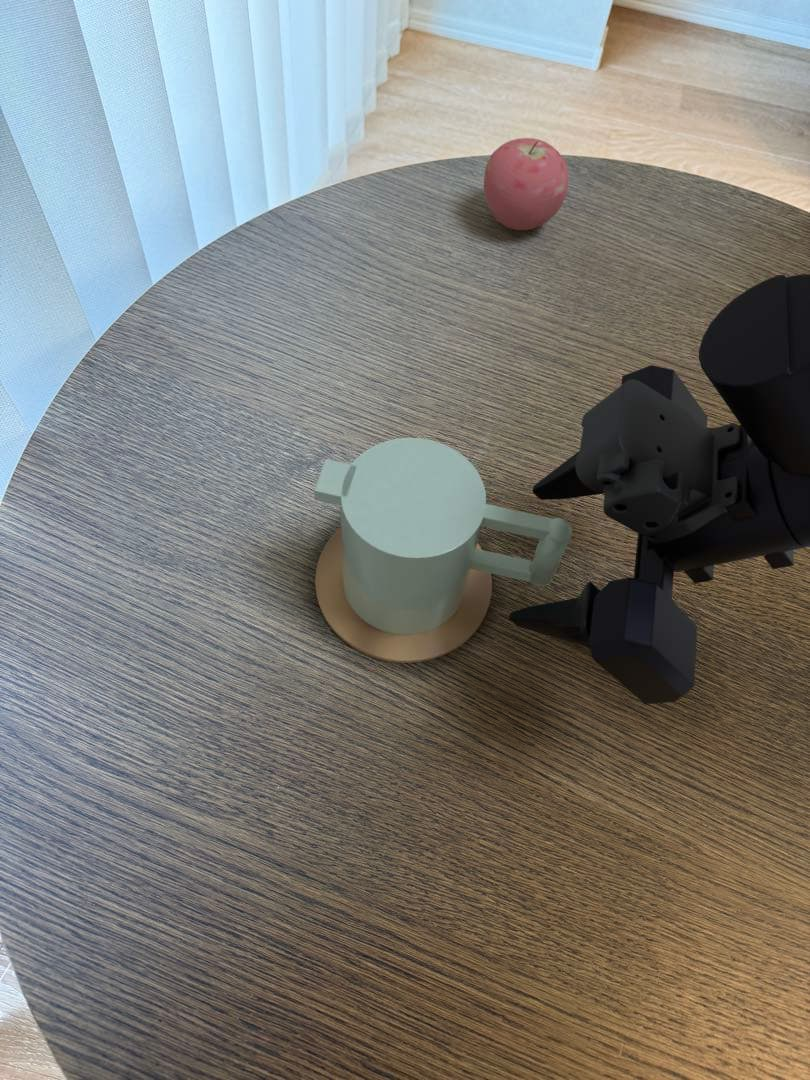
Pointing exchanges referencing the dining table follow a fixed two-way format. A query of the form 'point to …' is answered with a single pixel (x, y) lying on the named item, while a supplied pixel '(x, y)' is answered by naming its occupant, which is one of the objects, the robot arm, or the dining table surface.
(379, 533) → the jug
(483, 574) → the coaster
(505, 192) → the apple
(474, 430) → the dining table surface
